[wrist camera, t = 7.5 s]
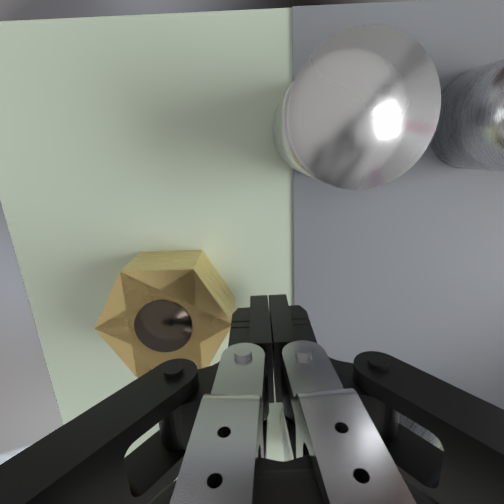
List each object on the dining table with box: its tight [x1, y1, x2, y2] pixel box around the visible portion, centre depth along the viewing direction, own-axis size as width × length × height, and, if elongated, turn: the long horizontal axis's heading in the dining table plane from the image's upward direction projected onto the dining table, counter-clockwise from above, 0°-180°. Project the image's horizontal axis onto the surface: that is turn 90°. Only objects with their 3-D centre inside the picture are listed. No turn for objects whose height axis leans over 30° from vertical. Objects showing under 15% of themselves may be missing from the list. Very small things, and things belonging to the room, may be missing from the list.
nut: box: [94, 250, 236, 378], centre depth 13 cm, size 5×5×2 cm
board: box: [0, 0, 504, 480], centre depth 15 cm, size 22×32×1 cm
